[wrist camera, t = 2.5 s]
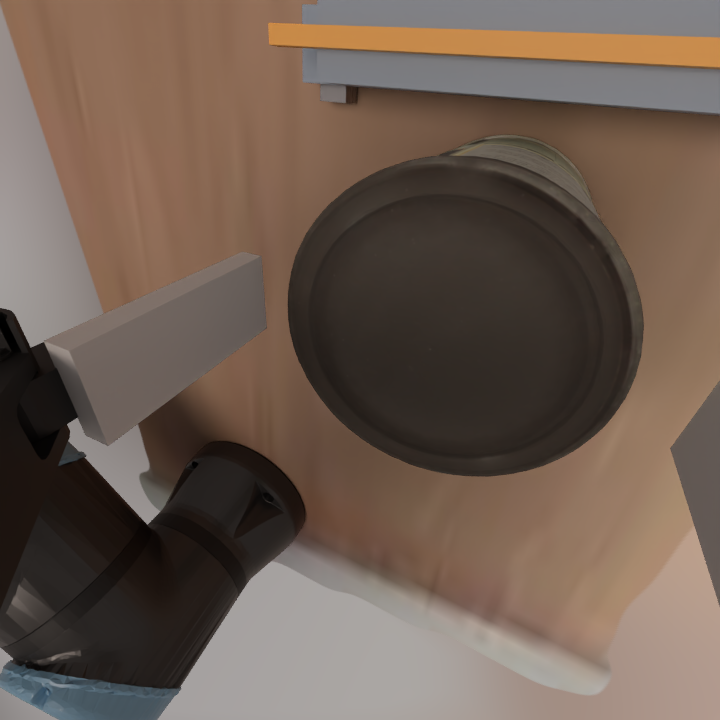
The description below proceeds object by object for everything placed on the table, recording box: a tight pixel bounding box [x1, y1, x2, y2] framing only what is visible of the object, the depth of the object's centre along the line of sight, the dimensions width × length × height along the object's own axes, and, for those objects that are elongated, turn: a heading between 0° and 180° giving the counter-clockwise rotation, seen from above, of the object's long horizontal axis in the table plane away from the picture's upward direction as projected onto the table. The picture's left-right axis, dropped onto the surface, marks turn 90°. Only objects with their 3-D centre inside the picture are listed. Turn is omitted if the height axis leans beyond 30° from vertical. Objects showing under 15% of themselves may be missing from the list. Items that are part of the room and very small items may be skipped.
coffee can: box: [288, 135, 644, 476], centre depth 17 cm, size 10×10×14 cm
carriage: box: [268, 0, 720, 116], centre depth 15 cm, size 22×3×5 cm, turn 85°
